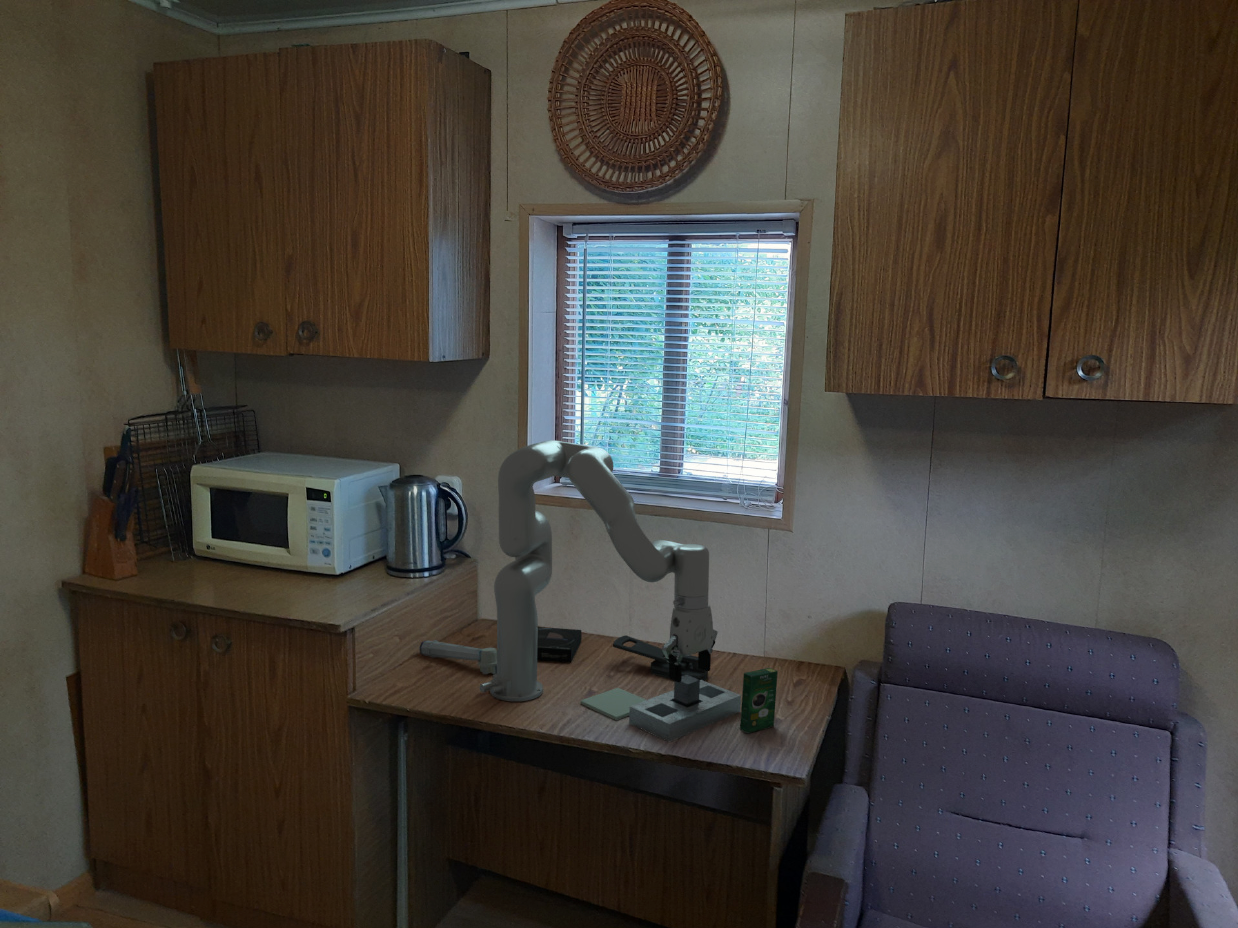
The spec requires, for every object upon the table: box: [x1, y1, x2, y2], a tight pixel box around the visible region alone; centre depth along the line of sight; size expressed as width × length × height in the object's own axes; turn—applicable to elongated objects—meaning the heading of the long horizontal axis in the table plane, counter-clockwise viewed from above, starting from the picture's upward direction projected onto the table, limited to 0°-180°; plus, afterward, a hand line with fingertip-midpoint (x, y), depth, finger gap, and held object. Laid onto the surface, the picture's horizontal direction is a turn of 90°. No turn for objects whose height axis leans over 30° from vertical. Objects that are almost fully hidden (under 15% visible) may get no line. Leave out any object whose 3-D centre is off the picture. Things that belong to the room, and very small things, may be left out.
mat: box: [580, 687, 647, 721], centre depth 211 cm, size 12×12×1 cm
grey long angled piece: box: [418, 639, 497, 675], centre depth 234 cm, size 5×7×25 cm
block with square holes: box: [628, 680, 742, 742], centre depth 205 cm, size 24×12×4 cm, turn 134°
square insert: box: [673, 675, 700, 707], centre depth 205 cm, size 4×4×9 cm
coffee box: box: [739, 667, 778, 734], centre depth 200 cm, size 8×3×13 cm, turn 123°
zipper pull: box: [612, 635, 709, 682], centre depth 233 cm, size 9×7×25 cm
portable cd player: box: [537, 626, 582, 664], centre depth 246 cm, size 16×17×4 cm
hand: (689, 674), depth 204 cm, fingers open, 9 cm apart
